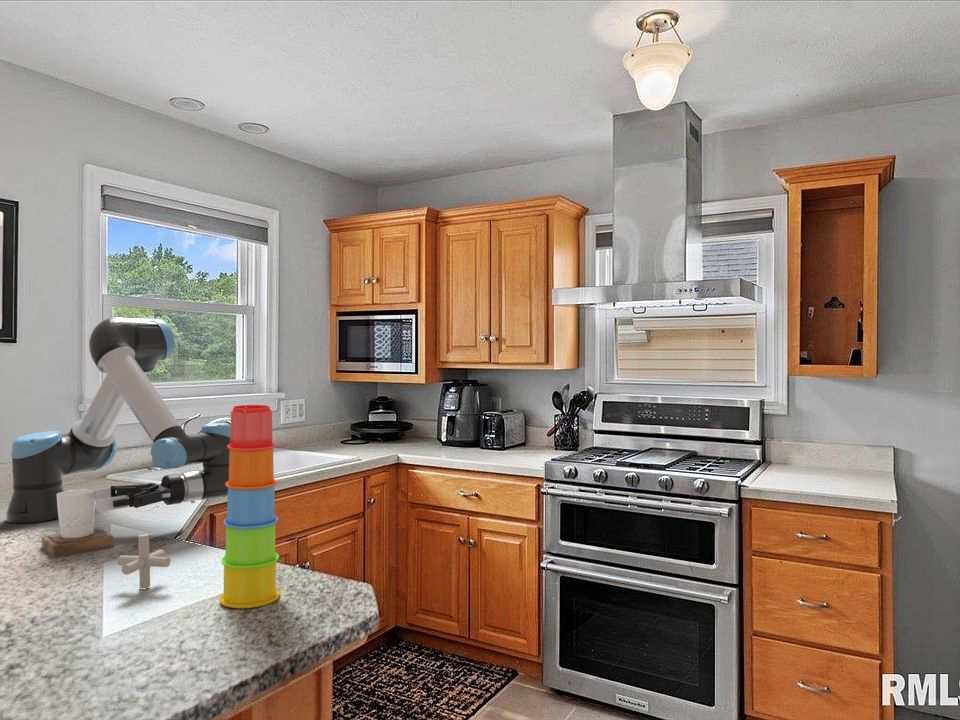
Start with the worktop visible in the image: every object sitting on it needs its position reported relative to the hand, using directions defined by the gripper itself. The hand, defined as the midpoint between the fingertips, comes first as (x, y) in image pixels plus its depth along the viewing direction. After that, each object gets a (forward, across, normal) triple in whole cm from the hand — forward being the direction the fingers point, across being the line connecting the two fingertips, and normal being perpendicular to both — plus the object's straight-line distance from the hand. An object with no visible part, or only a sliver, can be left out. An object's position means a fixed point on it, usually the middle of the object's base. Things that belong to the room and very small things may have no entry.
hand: (88, 501), depth 165 cm
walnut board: (+2, 0, -10) cm, 11 cm away
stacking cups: (-11, -64, -11) cm, 65 cm away
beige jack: (+1, -43, -10) cm, 44 cm away
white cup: (+2, 0, -8) cm, 8 cm away
